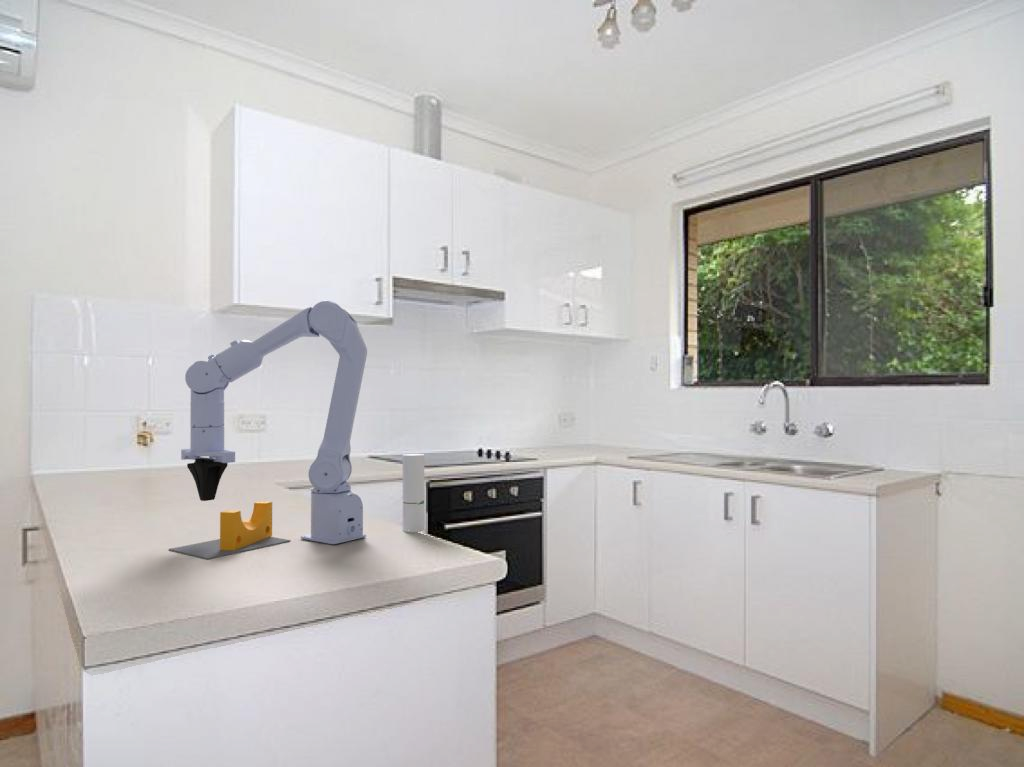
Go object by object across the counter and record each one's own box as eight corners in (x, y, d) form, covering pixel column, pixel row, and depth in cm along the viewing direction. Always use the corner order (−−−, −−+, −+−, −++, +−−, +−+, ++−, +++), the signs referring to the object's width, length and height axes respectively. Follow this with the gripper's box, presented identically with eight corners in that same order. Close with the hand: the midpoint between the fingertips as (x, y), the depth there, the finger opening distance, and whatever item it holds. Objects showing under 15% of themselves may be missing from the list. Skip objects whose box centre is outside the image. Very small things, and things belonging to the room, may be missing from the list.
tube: (406, 533, 126) (406, 455, 126) (399, 529, 129) (399, 454, 130) (427, 531, 128) (427, 454, 128) (420, 527, 131) (420, 453, 132)
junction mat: (290, 541, 119) (290, 540, 119) (207, 559, 105) (207, 558, 105) (251, 533, 125) (251, 532, 125) (168, 550, 112) (168, 548, 112)
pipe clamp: (251, 535, 123) (251, 501, 124) (272, 535, 123) (272, 501, 123) (210, 549, 112) (211, 511, 112) (233, 550, 111) (233, 512, 111)
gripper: (165, 427, 121) (165, 499, 121) (209, 428, 113) (209, 506, 113) (201, 425, 127) (201, 494, 126) (245, 426, 119) (245, 500, 118)
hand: (207, 500), depth 120 cm, fingers closed
